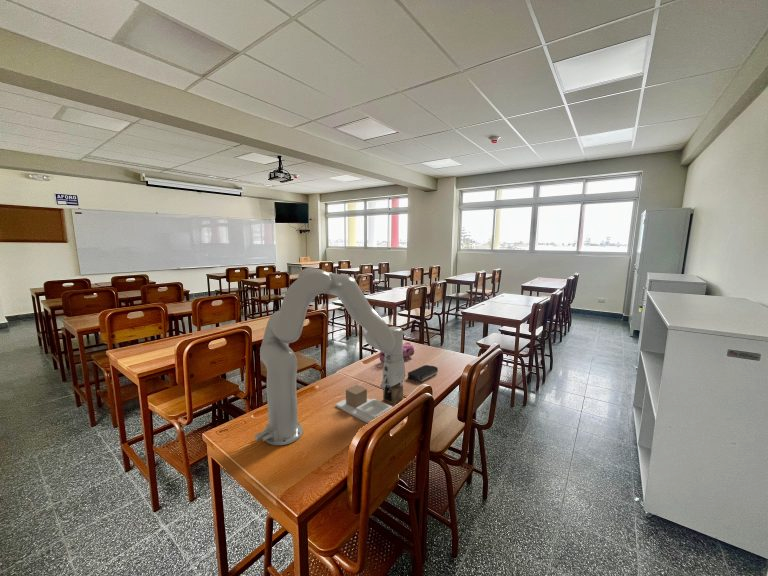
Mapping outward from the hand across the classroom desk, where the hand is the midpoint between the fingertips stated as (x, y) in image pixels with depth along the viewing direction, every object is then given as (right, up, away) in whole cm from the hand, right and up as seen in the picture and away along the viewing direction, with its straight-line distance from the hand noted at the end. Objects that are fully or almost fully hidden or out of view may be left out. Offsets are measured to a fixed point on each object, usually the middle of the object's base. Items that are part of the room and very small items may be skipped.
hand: (393, 396), depth 131 cm
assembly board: (-11, -2, -8) cm, 14 cm away
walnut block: (0, -1, 0) cm, 1 cm away
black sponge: (+16, +2, +23) cm, 28 cm away
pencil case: (+4, +5, +44) cm, 45 cm away
